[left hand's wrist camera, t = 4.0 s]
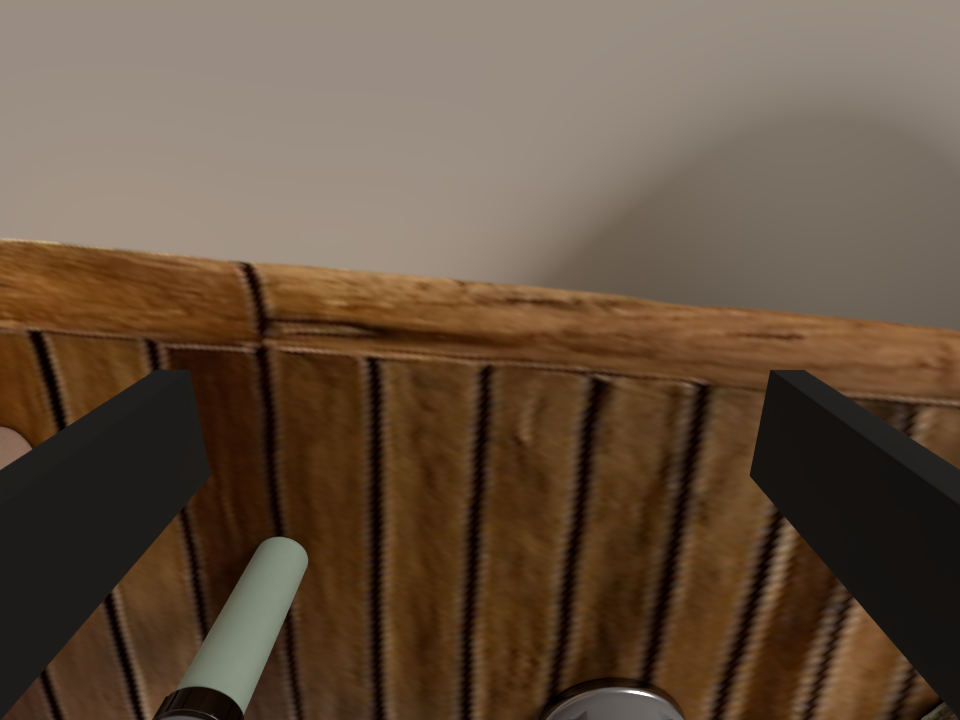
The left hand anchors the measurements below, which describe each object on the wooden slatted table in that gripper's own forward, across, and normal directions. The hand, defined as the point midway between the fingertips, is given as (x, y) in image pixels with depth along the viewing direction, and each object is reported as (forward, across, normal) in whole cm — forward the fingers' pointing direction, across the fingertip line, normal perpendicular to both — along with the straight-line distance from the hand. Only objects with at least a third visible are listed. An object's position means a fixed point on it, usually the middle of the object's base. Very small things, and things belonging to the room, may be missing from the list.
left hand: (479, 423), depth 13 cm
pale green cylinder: (+28, +18, +27) cm, 43 cm away
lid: (+12, +18, +27) cm, 35 cm away
